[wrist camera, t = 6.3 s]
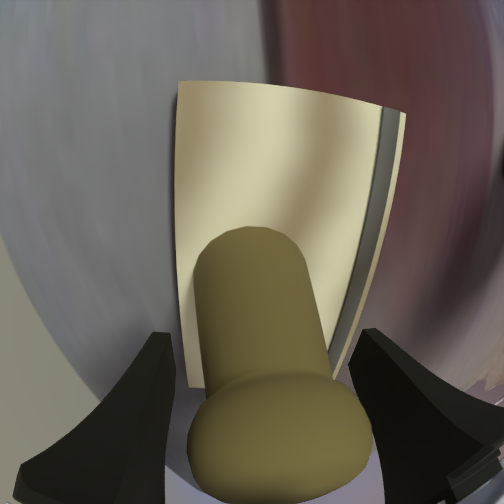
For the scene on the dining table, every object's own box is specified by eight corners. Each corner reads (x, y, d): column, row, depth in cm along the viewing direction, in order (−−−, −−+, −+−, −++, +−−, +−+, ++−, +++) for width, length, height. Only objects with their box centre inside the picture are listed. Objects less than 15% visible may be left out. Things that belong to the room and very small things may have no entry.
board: (395, 113, 12) (408, 114, 11) (330, 372, 21) (334, 383, 19) (182, 84, 11) (178, 80, 10) (189, 377, 19) (188, 389, 18)
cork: (329, 260, 15) (439, 446, 5) (266, 337, 17) (302, 515, 7) (229, 203, 13) (252, 450, 3) (174, 298, 15) (141, 505, 5)
